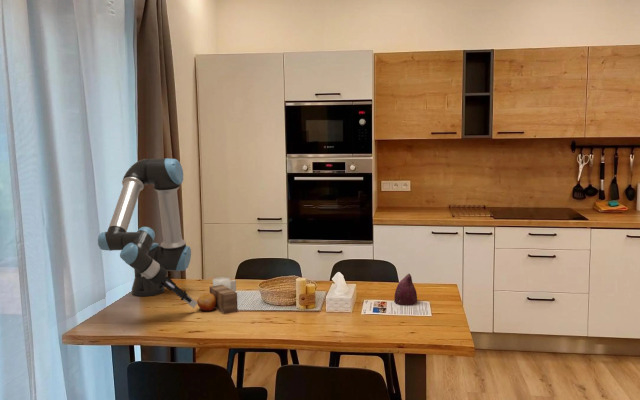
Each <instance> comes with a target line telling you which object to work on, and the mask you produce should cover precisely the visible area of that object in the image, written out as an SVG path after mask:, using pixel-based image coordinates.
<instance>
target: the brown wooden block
mask: <svg viewBox="0 0 640 400" xmlns="http://www.w3.org/2000/svg"><path fill="white" fill-rule="evenodd" d="M209 293H212V294H213V295H214V296H215V298H216V306H215V309H217V310H218V311H219V312H221V313H223V314H231V313H235V312H238V309H239V308H238V293H237V291H233V290H231V289H229V288H227V287H225V286H224V285H217V286H213V285H211V286H209Z"/></svg>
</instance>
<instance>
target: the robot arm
mask: <svg viewBox="0 0 640 400" xmlns="http://www.w3.org/2000/svg"><path fill="white" fill-rule="evenodd" d="M182 166H183V165H181V163H180V161H179V160H178V159H176V158H168V157H167V158H166V157H165V158H163V157H161V158H143V159H140V160H138V161H137V162H135V163H133V164H132V165H131V166H130V167H129V168H128V170H127V171H125V174H124V176H123V178H122V181H121V184H122V188H121V191H120V193H119V197H118V200H117V202H116V205H115V208H114V212H113V213H112V214H113V215H112V216H111V217H112V218H111V220H110V223H109V226H108V228H107V231H104V232H100V233H99V235H98V238H97V245H98V247H99V249H100V250H101V251H109V252H110V251H120V252H119V257H120V259H122V261H124V263H125V264H127V265H128V266H130V267H131V268H132V269H134V271H133V272H134V279H133V284H132V287H131V294H132V296H136V297H149V296H157V295H160V294H163V293H164V292H165V288H166V289H167V290H169V291H172V292H173V293H174V294H175V295H176V296H178V297H179V298H180V301H184V302H186V304H188V305H189V306H190V307H192V308H193V309H194V308H195V307H196V306H198V304H197V300H195V299H193V298H192V297H191V296H190V295H189V294H188V293H187V292H186V290H183V289H182V288H180V287H179V286H178V285H177V284H176V283H175V282H174V281H173V280H172V279H171V278H170V277H169V276H168V275H167V274H168V272H180V271H181V272H184V271H186V270H187V269H188V268H189V265H190V263H191V258H192V249H191V246H188V245H187V244H186V241H185V239H183V236H182V235H183V234H182V226H181V217H180V205H179V198H178V190H179V189H180V187H181V184H183V182H184V171H183V170H184V169H183V167H182ZM146 185H153V189H154V191H155V192H156V193H157V196H158V206H159V214H160V216H159V217H160V221H161V223H160V224H161V231H162V234H161V235H162V242H161V243H160V244H159V243H158V242H155V239H156V234H155V233H156V232H155V231H154V230H153V228H151V227H150V226H149V227H148V226H142V227H140V228H139V229H137V231H128V229H129V225H130V223H131V219H132V216H133V214H134V212H135V208H136V204H137V202H138V199H139V195H140V192H141V191H143V190H144V188H145V186H146Z"/></svg>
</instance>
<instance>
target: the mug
mask: <svg viewBox="0 0 640 400" xmlns="http://www.w3.org/2000/svg"><path fill="white" fill-rule="evenodd" d="M217 285H224V286H225V287H227V288H229V289H231V290H233V291H235V292H237V280H236V279H232V280H231V278H230V277H228V276H227V277H226V276H220V277H215V278H213V279H212V286H217Z"/></svg>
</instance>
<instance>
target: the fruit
mask: <svg viewBox="0 0 640 400" xmlns="http://www.w3.org/2000/svg"><path fill="white" fill-rule="evenodd" d="M196 302H197V306H198V307H199V309H200V311H203V312H205V311H206V312H211V311H213V310H215V309H216V308H215V306H216V298H215V296H214V295H213V294H212V293H210V292H208V293H203V294H202V295H200V296H199V297H198V299H197V300H196Z"/></svg>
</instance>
